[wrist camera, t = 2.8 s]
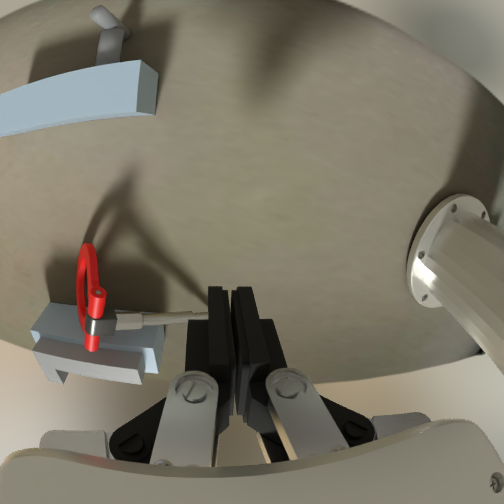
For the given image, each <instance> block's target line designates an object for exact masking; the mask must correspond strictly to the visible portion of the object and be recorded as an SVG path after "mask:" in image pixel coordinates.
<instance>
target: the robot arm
mask: <svg viewBox="0 0 504 504" xmlns="http://www.w3.org/2000/svg"><path fill="white" fill-rule="evenodd" d="M406 276H407V284H408V287H409V290H410V293H411V294H412V295H413V297H414V298H415V299H416V300H417V301H418V302H419V303H420V304H421V305H423V306H425V307H431V308H435V307H441V306H444V307H445V308H446V309H447V310H448V311H449V313H450V314H451V315H452V316H453V317H454V318H455V319H456V320H457V321H458V322H459V323H460V324H461V325H462V326H463V328H464V329H465V330H466V331H467V332H468V333H469V334H470V335H471V337H472V338H473V339H474V340H475V341H476V342H477V343H478V345H479V346H480V347H481V348H482V349H483V350H484V352H485V353H486V354H487V355H488V356H489V358H490V359H491V360H492V361H493V362H494V364H495V365H496V366H497V368H498V369H499V370H500V371H501V373H502V374H503V375H504V230H502V229H500V228H499V227H497V226H495V225H493V224H492V223H490V219H489V216H488V212H487V210H486V208H485V206H484V205H483V203H482V202H481V201H480V200H478V199H476V198H475V197H473V196H471V195H467V194H455V195H452V196H450V197H448V198H446V199H445V200H443V201H441V202H440V203H439V204H438V205H437V206H436V207H435V208H434V209H433V210H432V211H431V212H430V214H429V215H428V216H427V217H426V219H425V220H424V222H423V224H422V225H421V227H420V228H419V230H418V232H417V234H416V237H415V239H414V241H413V244H412V247H411V250H410V253H409V257H408V262H407V274H406ZM234 394H235V402H236V410H237V415H243V422H244V423H245V422H247V425H248V426H250V427H251V428H253V429H254V430H256V436H257V439H258V441H259V444H260V447H261V449H262V452H263V454H264V457H265V460H266V462H267V464H259V465H248V466H232V467H231V466H230V467H216V462H217V453H218V443H219V434H220V433H222V432H223V431H224V430H225V429H226V428H227V427H228V426H229V415H233V406H234V405H233V404H234ZM0 504H504V463H503V462H502V460H501V458H500V456H499V454H498V453H497V451H496V449H495V448H494V446H493V445H492V443H491V442H490V440H489V439H488V437H487V436H486V435H485V433H484V432H483V431H482V430H481V429H480V428H479V426H477V425H476V424H475V423H473V422H471V421H469V420H464V419H442V420H437V421H432V422H431V421H430V418H429V417H427V416H426V415H425V414H422V413H420V412H413V413H404V414H394V415H383V416H373V417H372V419H368V418H366V417H365V416H363V415H361V414H358V413H356V412H354V411H352V410H350V409H347V408H346V407H343V406H341V405H339V404H337V403H335V402H333V401H331V400H329V399H327V398H324V397H323V396H321V395H319V394H318V392H317V391H316V389H315V387H314V385H313V384H312V382H311V380H310V379H309V378H308V376H307V375H306V374H304V373H303V372H302V371H300V370H297V369H294V368H288V367H287V364H286V361H285V358H284V354H283V351H282V348H281V345H280V341H279V338H278V335H277V332H276V329H275V325H274V322H273V320H272V319H259V315H258V311H257V307H256V303H255V299H254V294H253V290H252V287H237V290H232V293H231V312H230V306H229V298H228V290H222V286H208V320H200V319H189V320H188V330H187V344H186V361H185V372H183V373H181V374H179V375H177V376H176V377H175V378H174V379H173V380H172V382H171V384H170V387H169V391H168V394H167V397H165V398H164V399H162V400H161V401H160V402H158V403H157V404H155V405H154V406H152V407H151V408H149V409H148V410H146V411H145V412H143V413H142V414H140V415H138V416H137V417H135V418H134V419H132V420H131V421H129V422H128V423H126V424H124V425H123V426H121V427H120V428H118V429H117V430H116V431H115V432H113V433H105V431H103V430H101V431H65V430H52V431H48V432H47V433H45V434H44V435H43V437H42V438H41V441H40V448H28V449H22V450H18V451H15V452H13V453H11V454H9V455H8V456H7V457H6V458H5V460H4V461H3V463H2V465H1V466H0Z"/></svg>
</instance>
